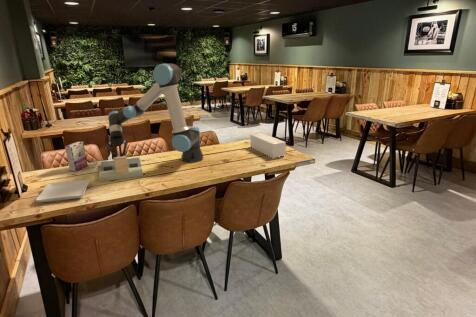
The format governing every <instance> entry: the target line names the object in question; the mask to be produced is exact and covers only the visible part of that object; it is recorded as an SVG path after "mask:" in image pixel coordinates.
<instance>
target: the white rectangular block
mask: <svg viewBox="0 0 476 317" xmlns="http://www.w3.org/2000/svg"><path fill="white" fill-rule="evenodd" d="M249 142H250V148H251V147H252V148H251V149H253V148H254V149H253V150H255V149H256V150H255V151H257V150H258V151H257V152H259V151H260V152H259V153H261V152H262V153H261V154H263V153H264V154H263V155H265V154H266V155H265V156H267V155H268V156H267V157H269V156H270V157H269V158H271V157H272V158H271V159H277V158H276V157H279V156H284V155H285V156H286V146H287V144H286V143H287V142H286V141H284V140H281V139H279V138H276V137H273V136H270V135H269V134H266V133H264V132H258V133H251V134H250V141H249ZM279 158H280V157H279Z"/></svg>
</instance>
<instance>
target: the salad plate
mask: <svg viewBox="0 0 476 317" xmlns="http://www.w3.org/2000/svg"><path fill="white" fill-rule="evenodd" d="M90 182H91V179H78V180H68V181H58V182H49V183H47V184H46V186H45V187H44V188H43V190H42V191H41V192H40V194H39V195H38V196H37V197H36V198H35V202H38V203H47V202H48V203H51V202H59V201H68V200H69V201H70V200H75V199H80V198H82V197H83V196H84V195H85V193H86V190H87V188H88V186H89V184H90Z"/></svg>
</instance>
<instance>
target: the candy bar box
mask: <svg viewBox="0 0 476 317" xmlns="http://www.w3.org/2000/svg"><path fill="white" fill-rule="evenodd" d="M85 148H86V147H85V144H84V141H76V142H73V143H70V144H68V145H65V146H64V149H65V153H66V154H65V155H66V158H67V162H68V167H69V171H70V172H78V171H80V170H82V169H84V168H86V167H88V160H87V153H86V149H85Z"/></svg>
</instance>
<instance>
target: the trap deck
mask: <svg viewBox="0 0 476 317" xmlns="http://www.w3.org/2000/svg"><path fill="white" fill-rule="evenodd" d="M127 162H128V169H129V172H126V173H120V174H116V171H115V165H114V159H113V160H106V161H105V160H104V161H101V162H100V167H99V175H98V180H99V181H98V182H106V181H107V182H108V181H113V180H114V181H115V180H122V179H130V178H137V177H143V176H144V172H143V167H142V162H141V159H140V157H132V158H131V157H130V158H127Z"/></svg>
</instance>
